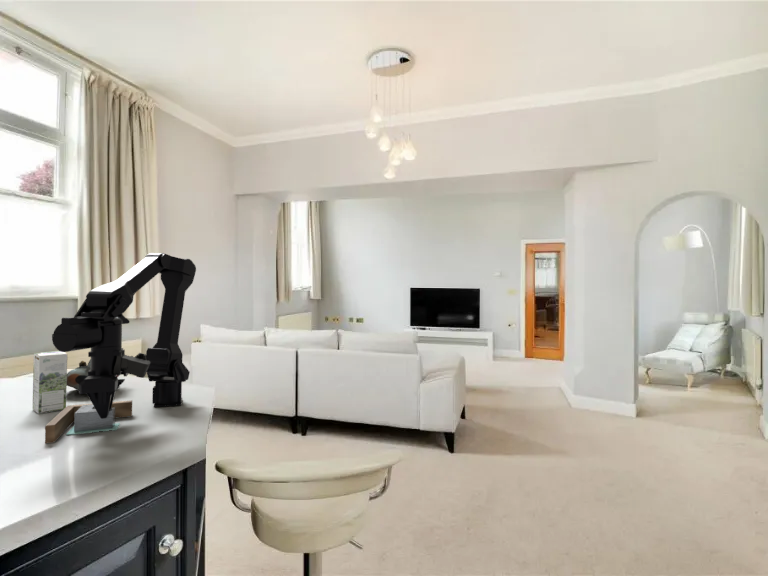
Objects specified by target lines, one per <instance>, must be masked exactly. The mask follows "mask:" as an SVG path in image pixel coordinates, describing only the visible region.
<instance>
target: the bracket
mask: <svg viewBox="0 0 768 576" xmlns="http://www.w3.org/2000/svg"><path fill="white" fill-rule="evenodd" d="M90 404H91V405H82V406H81V407H80V408H79V409H78V410H77V411H76V412H75V418H74V422H73V423H74V425H73V426H74V432H78V431H89V430H100V429H110V428H113V427H114V425H115V423H116V418H115V407H112V408H109V410H108V415H107V418H104V419H101V418H100V416H99V414H98V413H97V411H96V409H95V407H94V405H93V404H92V403H90Z"/></svg>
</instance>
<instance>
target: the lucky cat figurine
mask: <svg viewBox="0 0 768 576" xmlns="http://www.w3.org/2000/svg"><path fill="white" fill-rule="evenodd" d="M90 368H91V358H90V359H89V361H88V363H87V362H86V361H84V360H81V361H80V362H79V363H78V367H76V368H73V369H71V370H69V371H67V387H68V388H69V387H70V388H72V389H74V390H77V391H78V392H79V384H80V383H81V382H82V381H83V380H84V379H85V378H87V377H88V371H89V370H90ZM119 376H120V375H117V376H116V377H118V378H119Z"/></svg>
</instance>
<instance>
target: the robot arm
mask: <svg viewBox="0 0 768 576" xmlns="http://www.w3.org/2000/svg"><path fill="white" fill-rule="evenodd" d="M196 271H197V267H196V264H195V263H194V262H193V261H192V259H190V258H181V257H176V256H171V255H170V254H166V253H164V252H149V253H148V254H146V255H145V257H144V258H143V259H142V260H140V261H138V263H137V264H135V265H134V266H133V267H131V268H130V269H129V270H127V271H126V272H125V273H124V274H122V275H121V276H120V277H119V278H117V279H116V280H113V281H111V282H107V283H104V284H101V285H98V286H97V287H95V288H93V289H91V290H90V291H88V293H87V294H86V295H85V299H84V301H83V303H82V304H81V305H80V307H79V308H78V310H77V312H76V313H75V315H74V316H73V317H62V318H61V323H60V324H59V325H57V326H56V327H55V328H54V331H53V333H52V334H51V338H52V339H51V340H52V344H53V347H55V349H56V350H57V351H61V352H65V353H68V352H75V351H80V350H86V349H90V351H88V352H87V353H88V358H90V359H91V368H90V370H89V371H88V377H87V378H85V379H84V380H83V381H82V382H81V383H80V384H79V391H78V394H81V395H82V394H83V395H84V394H85V395H86V396H87V398H89V400H90V402H91V404H93V405H94V407H95V409H96V411H97V413H98V414H99V416H100V418H101V419H104V418H107V415H108V410H109V408H111V407H112V404H113V402H114V399H115V396H116V393H117V390H119V388H120V387H121V385H122V384H123V383H124V382H125V380H126V379H125V378H124V379H123V378H121V379H120V378H119V377H116V376H117V375H119V376H122V375H123V377H127V376H128V375H132V376H136V378H141V379H144V378H145V376H146V375H147V378H148V381H149V382H155V383H154V385H153V387H152V402H151V403H152V404H153V407H154V408H160V407H161V408H162V407H172V406H173V407H174V406H181V405H182V402H183V396H182V395H183V394H182V393H183V383H185V382H186V381H188V380H189V377H190V370H189V369H188V368H187V366H186V365H185V364H184V363H183V351H182V350H181V347H180V346H179V337H180V331H181V330H180V329H181V323H182V318H183V317H182V316H183V310H184V304H185V303H184V302H185V296H186V292H187V290H188V289H189V288H190V287H191V285H192V284H193V282H194V280H195V275H196ZM159 274H160V281H161V283H162V285H163V287H164V295H163V296H164V297H163V302H162V309H161V313H160V322H159V327H158V334H157V339H156V340H157V341H156V343H155V344H154V345H153V347H148V348H147V350H145V351H146V353H142V352H139V353H137V354H136V355H135V356H134V355H128V354H126V351H125V349H124V347H122V346H123V345H122V342H123V341H122V340H123V339H122V338H123V337H122V335H123V325H126V324H130V319H128V318H127V317H125V316H124V313H126V312H127V310H128V308H129V307H130V306H131V305H132V303H133V302H134V296H135V294H136V293H137V292H139V290H141V289H142V288H143V287H144V286H145V285H147V284H148V283H149V282H150V281H151V280H152V279H153V278H155V277H156V276H157V275H159Z"/></svg>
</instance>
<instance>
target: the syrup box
mask: <svg viewBox="0 0 768 576" xmlns="http://www.w3.org/2000/svg"><path fill="white" fill-rule="evenodd" d="M67 373H68V352H61V351H59V350H57V351H55V350H54V351H45V352H43V351H42V352H34V353H33V375H32V376H33V377H32V379H33V380H32V382H33V383H32V410H33V411H34V412H35V413H36V414H37V415H38V414H40V413H41V414H45V413H46V412H47V413H51V411H53V412H57V410H59V411H62V410H63V409H65V408H66V407H67V387H68V386H67ZM41 414H40V415H41Z"/></svg>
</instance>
